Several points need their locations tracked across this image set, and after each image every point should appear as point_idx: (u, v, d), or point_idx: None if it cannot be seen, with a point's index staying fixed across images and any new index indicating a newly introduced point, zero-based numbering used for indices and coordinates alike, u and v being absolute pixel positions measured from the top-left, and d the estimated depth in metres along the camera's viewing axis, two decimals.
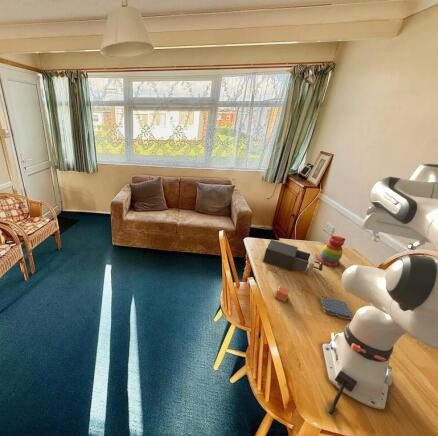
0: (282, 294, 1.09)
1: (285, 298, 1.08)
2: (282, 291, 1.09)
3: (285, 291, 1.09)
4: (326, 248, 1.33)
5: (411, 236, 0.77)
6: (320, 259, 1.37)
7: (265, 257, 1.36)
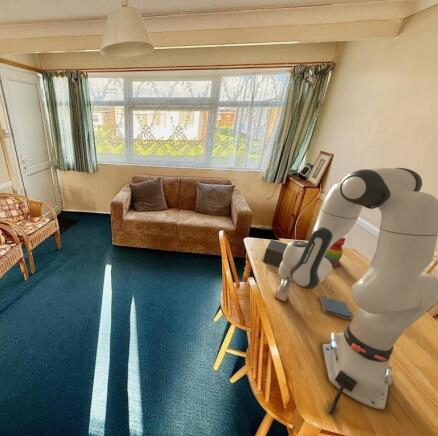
0: None
1: None
2: None
3: None
4: None
5: None
6: None
7: (265, 257, 1.36)
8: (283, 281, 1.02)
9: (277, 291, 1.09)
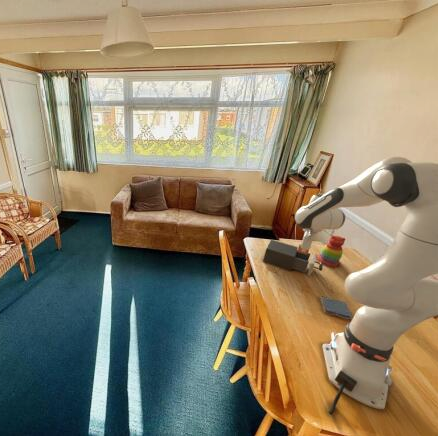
0: None
1: (307, 250, 1.16)
2: None
3: None
4: (326, 248, 1.33)
5: None
6: (320, 259, 1.37)
7: (265, 257, 1.36)
8: (307, 232, 1.10)
9: None
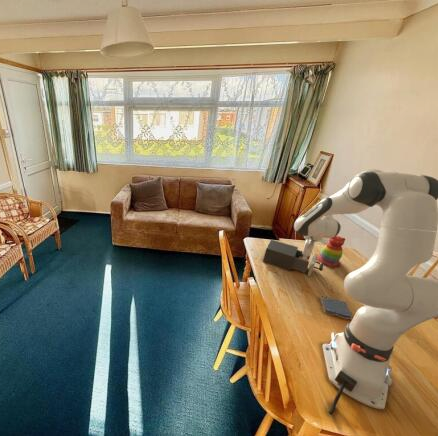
0: None
1: None
2: None
3: None
4: (326, 248, 1.33)
5: None
6: (320, 259, 1.37)
7: (265, 257, 1.36)
8: (307, 240, 1.19)
9: None
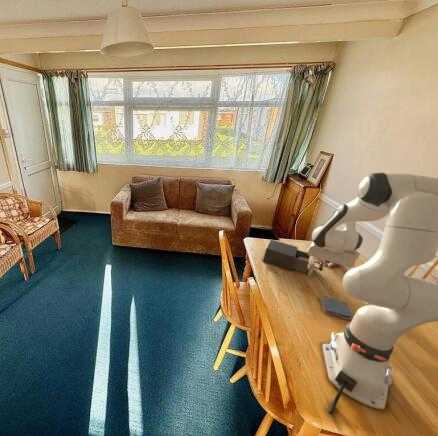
0: None
1: None
2: None
3: (305, 259, 1.29)
4: None
5: None
6: (320, 259, 1.37)
7: (265, 257, 1.36)
8: (348, 253, 1.14)
9: None
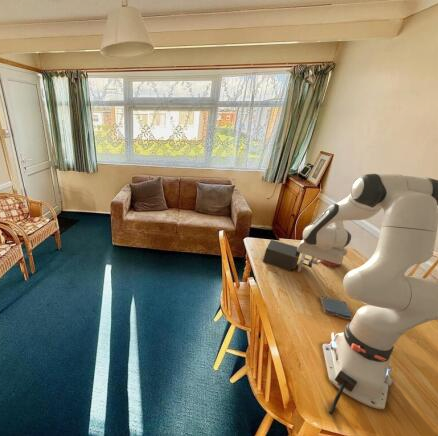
0: None
1: None
2: None
3: (295, 256, 1.31)
4: None
5: None
6: None
7: (265, 257, 1.36)
8: (336, 250, 1.17)
9: None
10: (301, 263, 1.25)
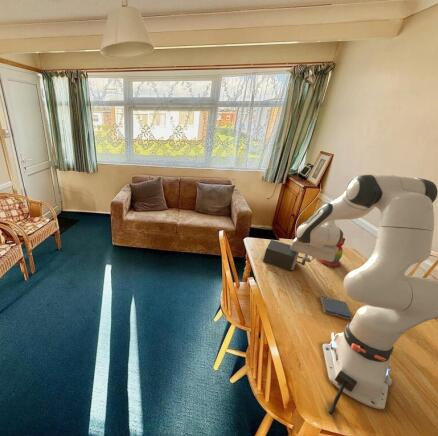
0: None
1: None
2: None
3: None
4: None
5: None
6: (320, 259, 1.37)
7: (265, 257, 1.36)
8: (328, 247, 1.19)
9: None
10: (294, 261, 1.27)
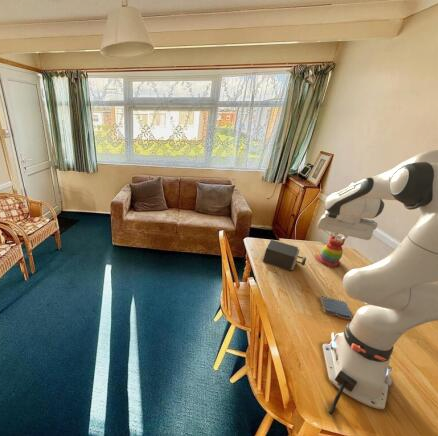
0: None
1: None
2: None
3: None
4: (326, 248, 1.33)
5: None
6: (320, 259, 1.37)
7: (265, 257, 1.36)
8: (365, 223, 1.02)
9: None
10: (294, 261, 1.27)
